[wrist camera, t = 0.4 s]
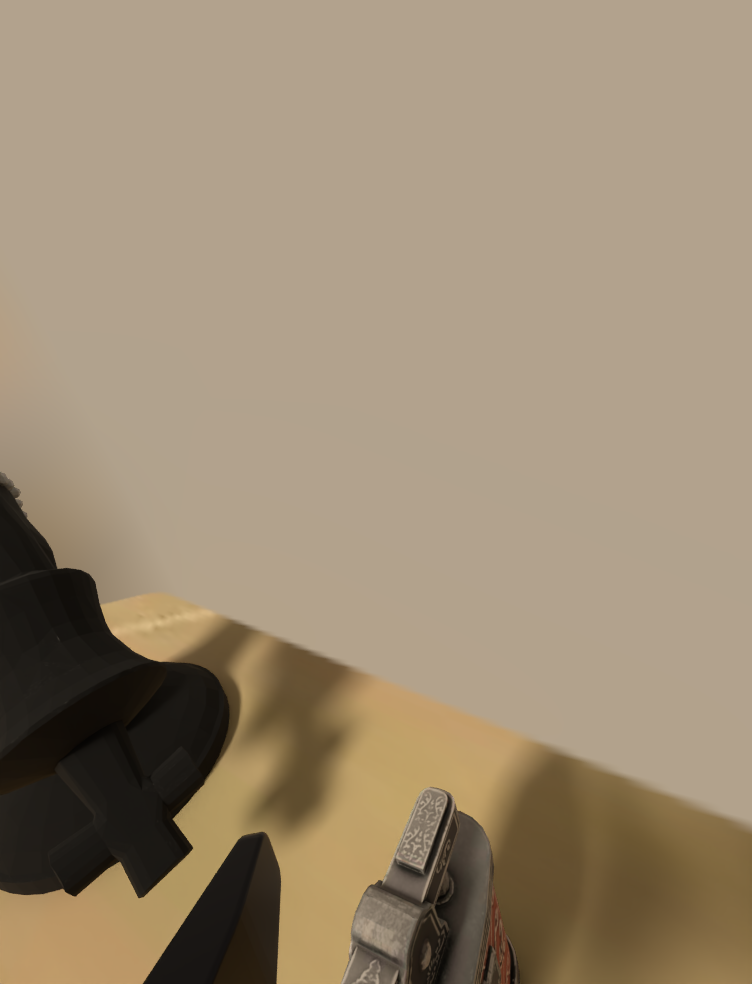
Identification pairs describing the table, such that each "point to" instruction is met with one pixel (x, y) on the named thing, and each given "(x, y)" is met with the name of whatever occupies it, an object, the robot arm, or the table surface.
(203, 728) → the sculpture
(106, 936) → the table surface
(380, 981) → the lighter
